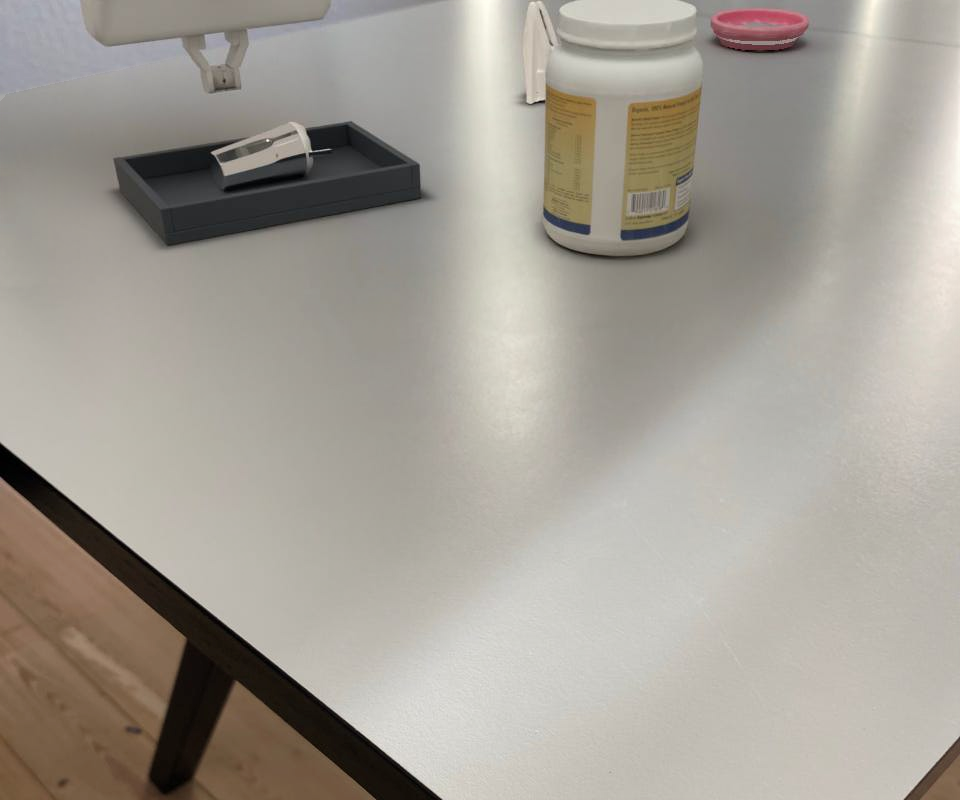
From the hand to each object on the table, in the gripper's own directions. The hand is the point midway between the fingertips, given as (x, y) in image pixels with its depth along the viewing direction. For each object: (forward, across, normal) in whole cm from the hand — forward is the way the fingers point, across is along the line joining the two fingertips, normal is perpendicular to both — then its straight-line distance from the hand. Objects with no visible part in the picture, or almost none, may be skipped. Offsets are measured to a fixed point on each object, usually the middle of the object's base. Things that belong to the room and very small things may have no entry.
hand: (222, 90), depth 96 cm
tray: (+9, -3, 0) cm, 10 cm away
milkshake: (+7, +2, 0) cm, 7 cm away
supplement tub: (+10, -25, +24) cm, 36 cm away
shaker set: (+10, -45, -15) cm, 48 cm away
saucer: (+10, -79, -24) cm, 83 cm away
